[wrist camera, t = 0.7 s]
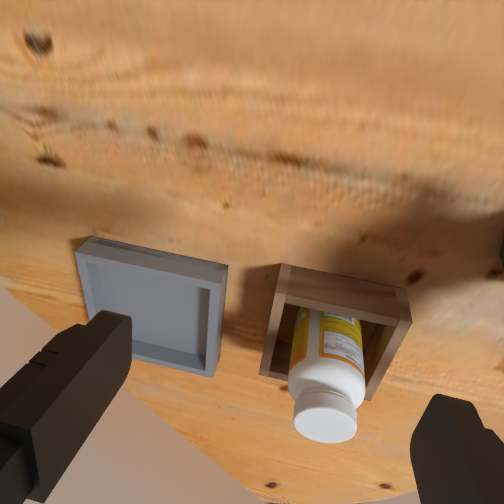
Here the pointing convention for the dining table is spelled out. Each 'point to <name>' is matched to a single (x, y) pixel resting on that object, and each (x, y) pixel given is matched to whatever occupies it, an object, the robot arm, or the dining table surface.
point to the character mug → (502, 254)
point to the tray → (158, 301)
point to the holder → (341, 303)
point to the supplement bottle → (326, 375)
